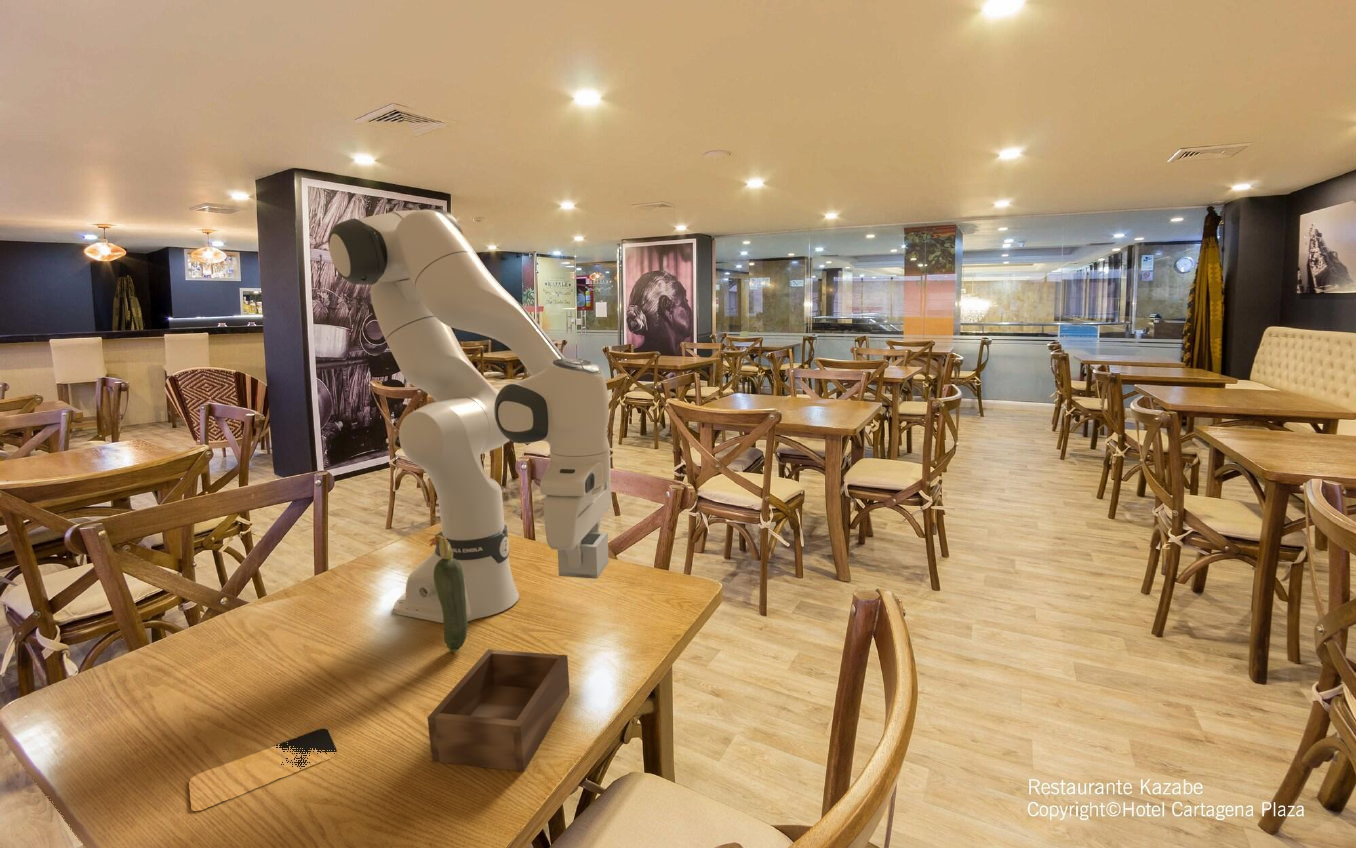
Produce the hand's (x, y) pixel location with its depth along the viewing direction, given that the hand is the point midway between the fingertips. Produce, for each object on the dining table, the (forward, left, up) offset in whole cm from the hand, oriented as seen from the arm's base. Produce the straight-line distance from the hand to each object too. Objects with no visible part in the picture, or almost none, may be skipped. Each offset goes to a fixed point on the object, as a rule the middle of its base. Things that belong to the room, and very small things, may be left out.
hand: (584, 556), depth 101 cm
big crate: (-6, -18, -17) cm, 25 cm away
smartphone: (-32, -30, -17) cm, 47 cm away
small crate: (0, 0, -2) cm, 2 cm away
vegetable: (-22, -2, -17) cm, 28 cm away
